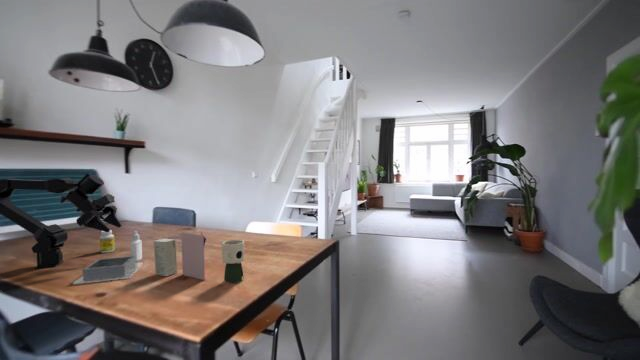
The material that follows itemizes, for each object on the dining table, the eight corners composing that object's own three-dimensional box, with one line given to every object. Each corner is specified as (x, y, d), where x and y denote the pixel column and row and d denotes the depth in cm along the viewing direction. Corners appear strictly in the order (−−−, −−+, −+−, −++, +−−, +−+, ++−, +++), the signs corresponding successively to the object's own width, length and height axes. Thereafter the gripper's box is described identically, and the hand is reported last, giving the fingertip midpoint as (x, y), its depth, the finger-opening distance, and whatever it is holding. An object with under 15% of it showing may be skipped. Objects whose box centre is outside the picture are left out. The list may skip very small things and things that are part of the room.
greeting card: (207, 279, 96) (206, 235, 96) (182, 283, 93) (181, 238, 92) (204, 269, 106) (203, 229, 106) (182, 272, 103) (181, 231, 103)
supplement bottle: (113, 249, 136) (112, 229, 136) (115, 251, 132) (114, 230, 132) (99, 251, 132) (98, 230, 132) (101, 253, 128) (100, 232, 128)
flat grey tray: (72, 284, 93) (72, 272, 93) (94, 268, 108) (94, 258, 108) (129, 278, 98) (129, 266, 98) (142, 264, 113) (142, 253, 113)
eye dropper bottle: (146, 258, 120) (145, 230, 120) (134, 262, 115) (133, 233, 115) (138, 257, 122) (138, 229, 121) (126, 261, 116) (125, 232, 116)
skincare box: (177, 273, 103) (176, 239, 102) (166, 277, 99) (165, 242, 98) (165, 270, 105) (164, 237, 105) (154, 274, 102) (153, 240, 101)
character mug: (236, 287, 89) (236, 246, 89) (215, 286, 90) (214, 246, 90) (250, 275, 100) (249, 238, 99) (231, 274, 101) (230, 237, 100)
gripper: (84, 189, 106) (118, 218, 108) (111, 186, 124) (139, 211, 127) (61, 211, 105) (95, 239, 107) (91, 205, 123) (120, 229, 125)
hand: (115, 228), depth 117 cm, fingers open, 9 cm apart
